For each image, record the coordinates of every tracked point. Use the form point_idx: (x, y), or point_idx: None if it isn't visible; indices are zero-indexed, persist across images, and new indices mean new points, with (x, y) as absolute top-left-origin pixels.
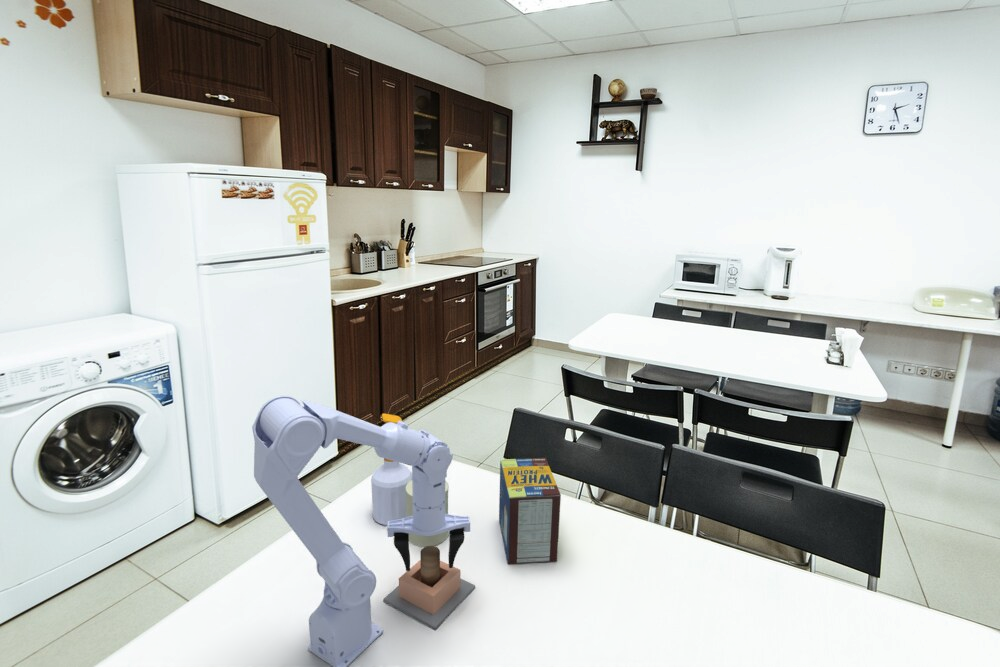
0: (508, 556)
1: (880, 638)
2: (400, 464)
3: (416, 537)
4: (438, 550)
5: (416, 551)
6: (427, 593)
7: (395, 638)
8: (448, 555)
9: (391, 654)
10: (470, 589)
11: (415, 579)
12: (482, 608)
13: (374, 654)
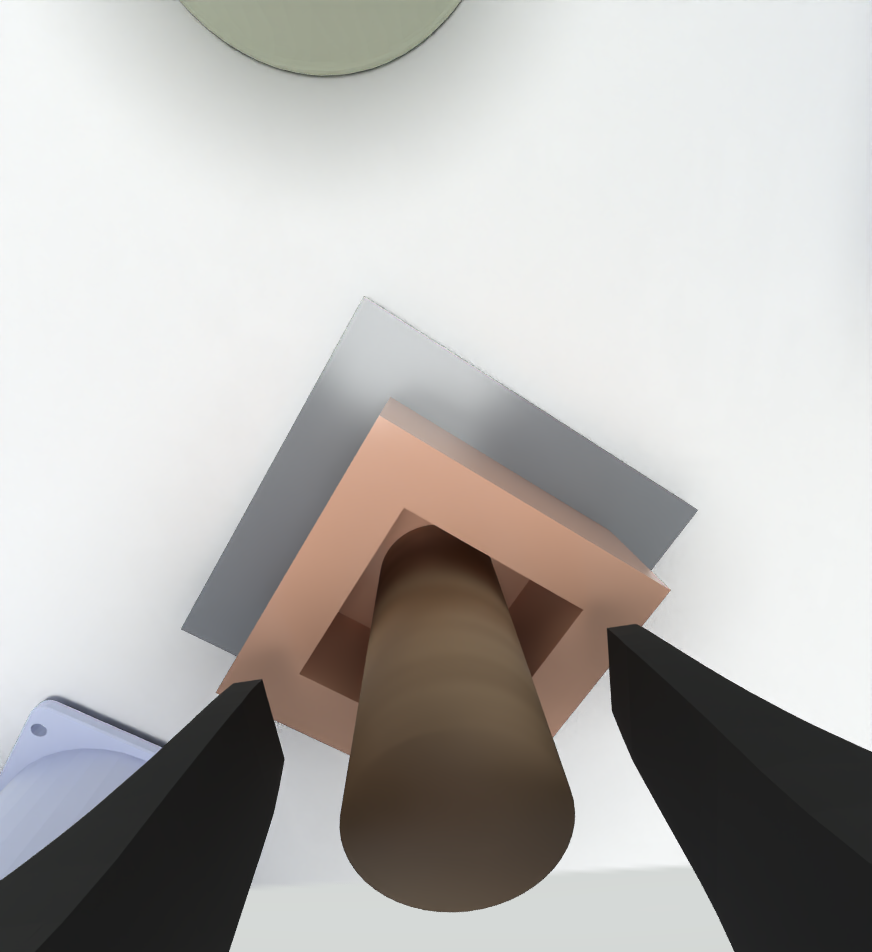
0: None
1: None
2: None
3: (222, 2)
4: (557, 801)
5: (269, 142)
6: None
7: (316, 806)
8: (625, 646)
9: (320, 869)
10: (667, 541)
11: (342, 698)
12: (711, 637)
13: None
